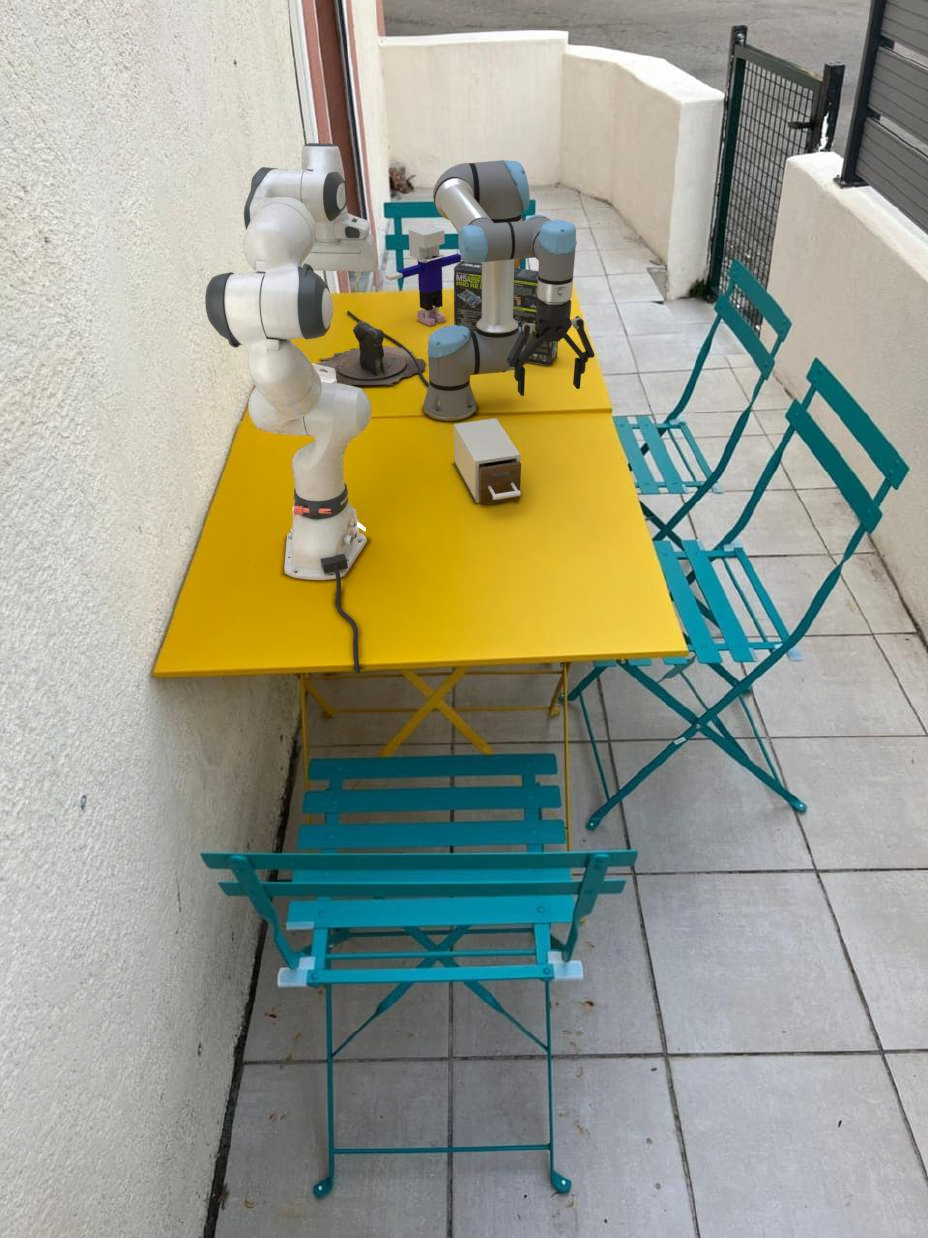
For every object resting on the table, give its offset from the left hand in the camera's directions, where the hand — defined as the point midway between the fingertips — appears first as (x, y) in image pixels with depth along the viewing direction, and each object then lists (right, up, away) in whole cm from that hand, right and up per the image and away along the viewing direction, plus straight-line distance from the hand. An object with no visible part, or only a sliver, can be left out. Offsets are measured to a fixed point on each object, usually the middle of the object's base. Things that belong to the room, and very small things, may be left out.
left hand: (334, 289), depth 200 cm
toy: (+18, +29, +108) cm, 113 cm away
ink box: (-11, -17, +54) cm, 58 cm away
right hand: (+49, -21, +6) cm, 54 cm away
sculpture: (-1, +4, +79) cm, 79 cm away
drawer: (+36, -41, +23) cm, 60 cm away
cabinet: (+35, -39, +28) cm, 59 cm away
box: (+43, +11, +86) cm, 97 cm away
